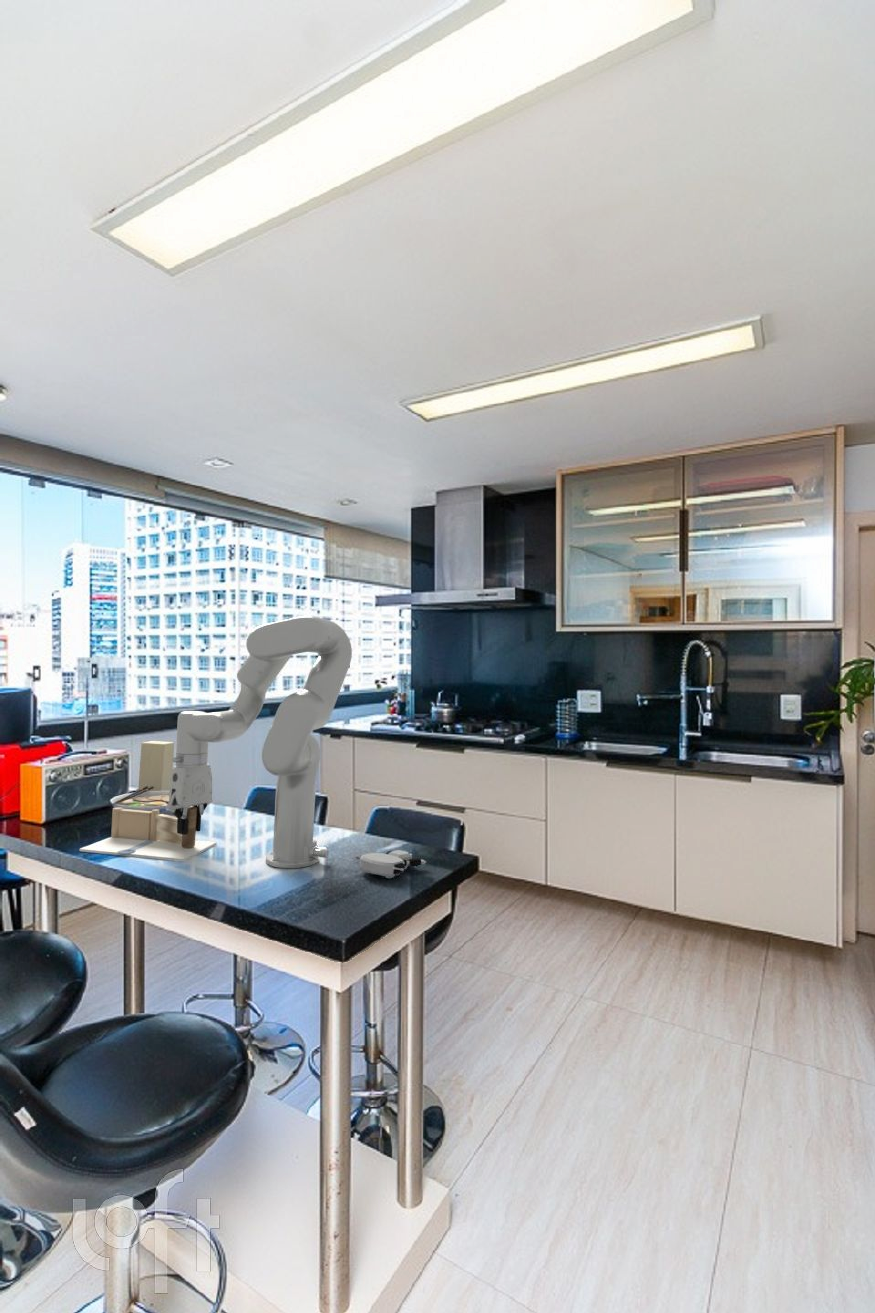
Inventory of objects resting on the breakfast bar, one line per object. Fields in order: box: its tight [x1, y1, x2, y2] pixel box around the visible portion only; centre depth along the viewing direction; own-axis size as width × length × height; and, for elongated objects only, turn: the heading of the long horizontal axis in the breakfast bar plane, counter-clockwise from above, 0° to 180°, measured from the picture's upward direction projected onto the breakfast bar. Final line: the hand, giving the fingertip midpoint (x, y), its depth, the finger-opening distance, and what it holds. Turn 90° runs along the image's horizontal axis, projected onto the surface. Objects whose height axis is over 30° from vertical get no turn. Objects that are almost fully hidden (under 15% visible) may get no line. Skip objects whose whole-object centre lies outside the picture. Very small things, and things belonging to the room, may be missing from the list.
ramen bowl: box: [108, 786, 182, 816], centre depth 179 cm, size 25×23×8 cm
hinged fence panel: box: [156, 806, 197, 847], centre depth 158 cm, size 12×3×10 cm, turn 66°
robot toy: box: [352, 849, 427, 877], centre depth 145 cm, size 12×4×15 cm
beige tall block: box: [137, 740, 175, 791], centre depth 200 cm, size 8×7×21 cm
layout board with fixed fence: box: [79, 807, 218, 862], centre depth 155 cm, size 28×16×8 cm, turn 81°
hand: (188, 831), depth 156 cm, fingers closed on hinged fence panel, 3 cm apart
